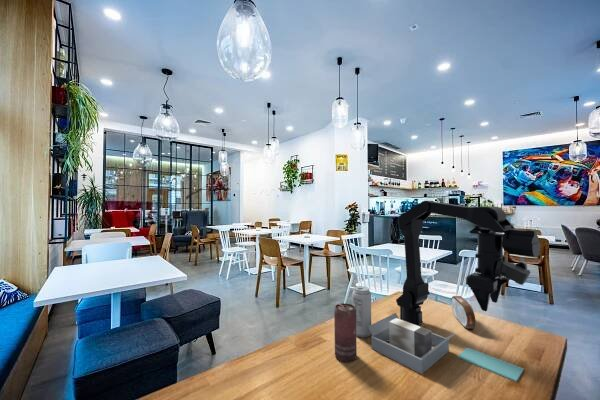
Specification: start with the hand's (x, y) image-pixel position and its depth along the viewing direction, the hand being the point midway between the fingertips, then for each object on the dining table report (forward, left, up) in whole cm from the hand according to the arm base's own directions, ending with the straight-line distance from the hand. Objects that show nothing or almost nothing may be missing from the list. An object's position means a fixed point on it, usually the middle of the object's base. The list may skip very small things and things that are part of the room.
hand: (489, 306), depth 75 cm
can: (-26, -31, -14) cm, 43 cm away
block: (-16, -14, -14) cm, 26 cm away
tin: (-13, +17, -14) cm, 25 cm away
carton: (-16, -14, -14) cm, 26 cm away
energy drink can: (-31, -17, -14) cm, 38 cm away
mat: (+1, -4, -14) cm, 15 cm away
